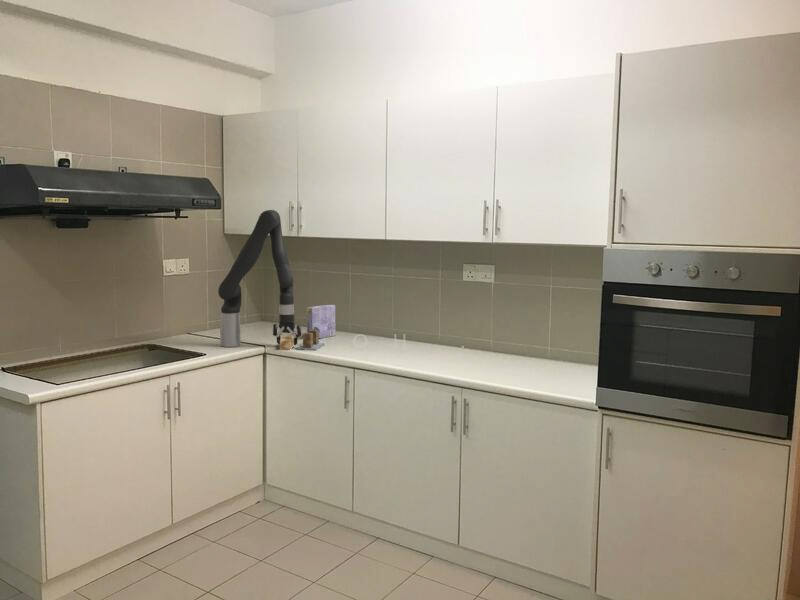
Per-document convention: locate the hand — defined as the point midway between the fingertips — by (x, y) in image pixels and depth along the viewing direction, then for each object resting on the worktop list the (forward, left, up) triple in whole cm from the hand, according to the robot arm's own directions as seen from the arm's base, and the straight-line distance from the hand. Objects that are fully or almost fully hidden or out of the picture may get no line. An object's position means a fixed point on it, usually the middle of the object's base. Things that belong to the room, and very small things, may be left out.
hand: (287, 344), depth 329 cm
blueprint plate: (+12, +2, -1) cm, 12 cm away
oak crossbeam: (0, 0, -2) cm, 2 cm away
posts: (+12, +2, -1) cm, 12 cm away
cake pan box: (+9, +30, -2) cm, 31 cm away
